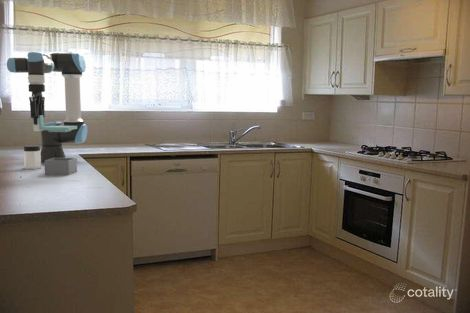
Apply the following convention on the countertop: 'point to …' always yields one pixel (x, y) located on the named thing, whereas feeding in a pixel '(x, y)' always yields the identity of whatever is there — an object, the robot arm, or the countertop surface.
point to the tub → (60, 166)
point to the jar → (32, 157)
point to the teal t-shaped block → (54, 128)
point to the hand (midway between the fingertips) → (38, 130)
